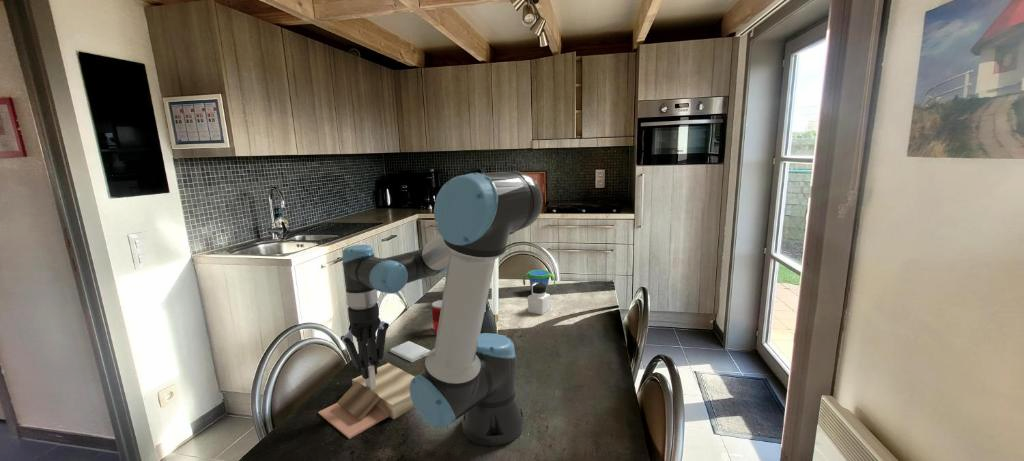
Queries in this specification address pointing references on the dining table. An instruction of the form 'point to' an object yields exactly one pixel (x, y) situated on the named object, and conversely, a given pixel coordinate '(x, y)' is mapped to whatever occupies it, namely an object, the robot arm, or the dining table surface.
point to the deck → (391, 390)
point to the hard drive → (410, 351)
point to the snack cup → (539, 277)
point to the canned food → (436, 314)
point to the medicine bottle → (539, 299)
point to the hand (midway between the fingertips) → (371, 387)
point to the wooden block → (358, 400)
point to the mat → (351, 419)
